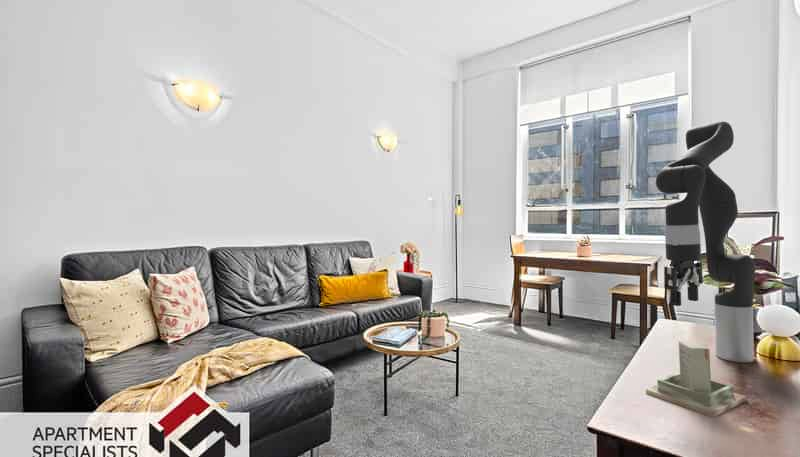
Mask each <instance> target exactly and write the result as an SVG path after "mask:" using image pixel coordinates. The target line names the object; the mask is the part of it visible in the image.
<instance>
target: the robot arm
mask: <svg viewBox="0 0 800 457" xmlns="http://www.w3.org/2000/svg"><path fill="white" fill-rule="evenodd" d="M685 133H686V134H685V144H686V151H685V152H683V153H682V155H681V156H679V158H678V159H677V160H676V161H673V162H671V163H670V164H667V165H666V166H664V167H662V168H661V169H660V170H659V172H658V174H657V175H656V179H655V186H656V188H657V189H658V191H659V192H661V193H663V194H666V195H674V194H676V195H677V194H686V196H685V197H684V199H683V200H681V201H676V202H671V203H669V204H666V206H665V233H664V236H665V237H664V240H665V259H666V260H668V261H671V265H667V266H666V265H665V266H664V267H663V272H664V274H663V279H664V280H663V287H664V290H668V291H670V292H669V293H670V294H669V295H670V296H669V297H670V298H669V299H670V305H671V306H673V307H674V306H677V307H679V306H680V307H681V306H682V288H683V286H684V285H687V299H688V301H689V302H690V301H692V302H698V300H699V288H700V285H701V284H703V283H704V278H703V263H702V261H700V260H701V259H702V250H701V248H702V247H701V230H700V225H699V224H700V222H699V221H700V220H699V213H700V218H701V222H702V223H701V224H702V228H703V233H704V234H703V235H704V242H705V256H706V258H705V259H706V267H707V272H708V275H709V277H710V279H711V280H713V281H714V282H719V283H727V284H728V283H729V284H733V287H732V288H733V289H732V290H729V291H725V292H720V293H716V294H714V295H715V296H714V314H715V315H714V317H715V318H714V319H715V321H714V322H715V324H714V325H715V328H714V329H715V356H716V357H717V358H720V359H722V360H726V361H730V362H734V363H753V362H755V361H754V360H755V356H754V354H755V352H754V346H755V344H754V343H755V342H754V308H753V306H754V303H753V302H754V297H755V280H756V278H755V277H756V266H755V262H754V259H753V258H752V257H751V256H749V255H746V254H745V255H744V254H734V253H733V254H732V253H730V254H729V253H725V249H724V248H725V247H724V245H725V244H724V241H725V238H726V236H727V234H728V232H729V231H730V229H731V227H732V226H733V224H735V221H736V220H737V218H738V214H739V210H738V204H737V198H736V193H735V191H734V190H733V189H732V187H731V186H729V184H728V183H726V182H725V181H724V180H723V179H722V178H721V177H719V176H718V175H717V173H715V172H714V170H712V168H711V167H710V164H711V163H713V162H714V161H716V159H718V158H719V157H721V156H722V155H723V154H724V153H726V152H728V151H729V150H730V149H731V148H732V146H733V144H734V139H735V138H734V137H735V136H734V130H733V127H732V125H731V124H730V123H729V122H727V121H717V122H716V121H715V122H712V123H707V124H701V125H698V126H694V127H691V128H688V129H687V131H686V132H685Z"/></svg>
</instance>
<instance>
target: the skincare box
mask: <svg viewBox="0 0 800 457" xmlns="http://www.w3.org/2000/svg"><path fill="white" fill-rule="evenodd" d="M678 355H679V356H678V358H679V372H680V386H681V387H684V388H687V389H690V390H693V391H696V392H699V393H702V394H705V395H708V394H710V393H711V380H712V379H711V378H712V376H711V375H712V374H711V354H710V348H709V347H708V346H704V345H703V344H701V343H698V342H697V341H678Z"/></svg>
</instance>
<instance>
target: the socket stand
mask: <svg viewBox="0 0 800 457" xmlns="http://www.w3.org/2000/svg"><path fill="white" fill-rule="evenodd" d="M645 393H646V394H648V395H650V396H653V397H657V398H660V399H662V400H664V401H667V402H670V403H673V404H675V405H678V406H682V407H684V408H687V409H689V410H692V411H693V412H694V411H695V412H697V413H700V414H703V415H705V416H707V417H711V418H715V417H716V416H719V415H720V414H723V413H724V412H727V411H728V410H730V409H732V408H735V407H736V406H739V405H741V404H742V403H744V402H747V396H746V395H742V394H739V393H736V392H734V385H732V384H731V385H730V384H727V383H725V382H721V381H718V380H717V381H716V380H714V379H711V393H710V394H708V395H705V394H702V393H699V392H696V391H693V390H690V389H687V388H684V387H681V386H680V371H678V372H677V373H676V372H675V373H673V374H671V375H667V376H665V377H662V378H660V379H657V384H656V385H653V386H649V387H647V388H645Z"/></svg>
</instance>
